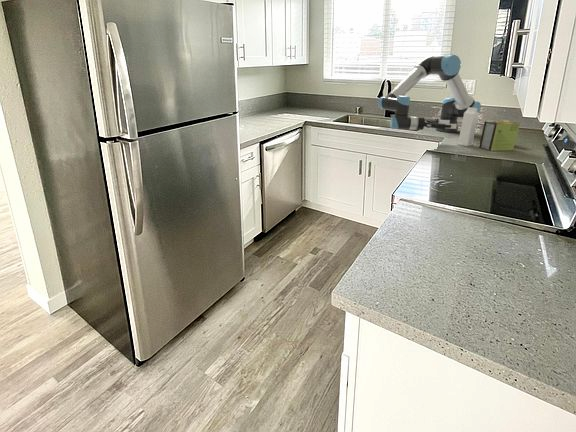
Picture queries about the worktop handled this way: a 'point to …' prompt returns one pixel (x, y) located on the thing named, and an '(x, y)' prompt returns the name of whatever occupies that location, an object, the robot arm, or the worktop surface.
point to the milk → (468, 127)
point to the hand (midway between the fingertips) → (452, 124)
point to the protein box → (499, 135)
